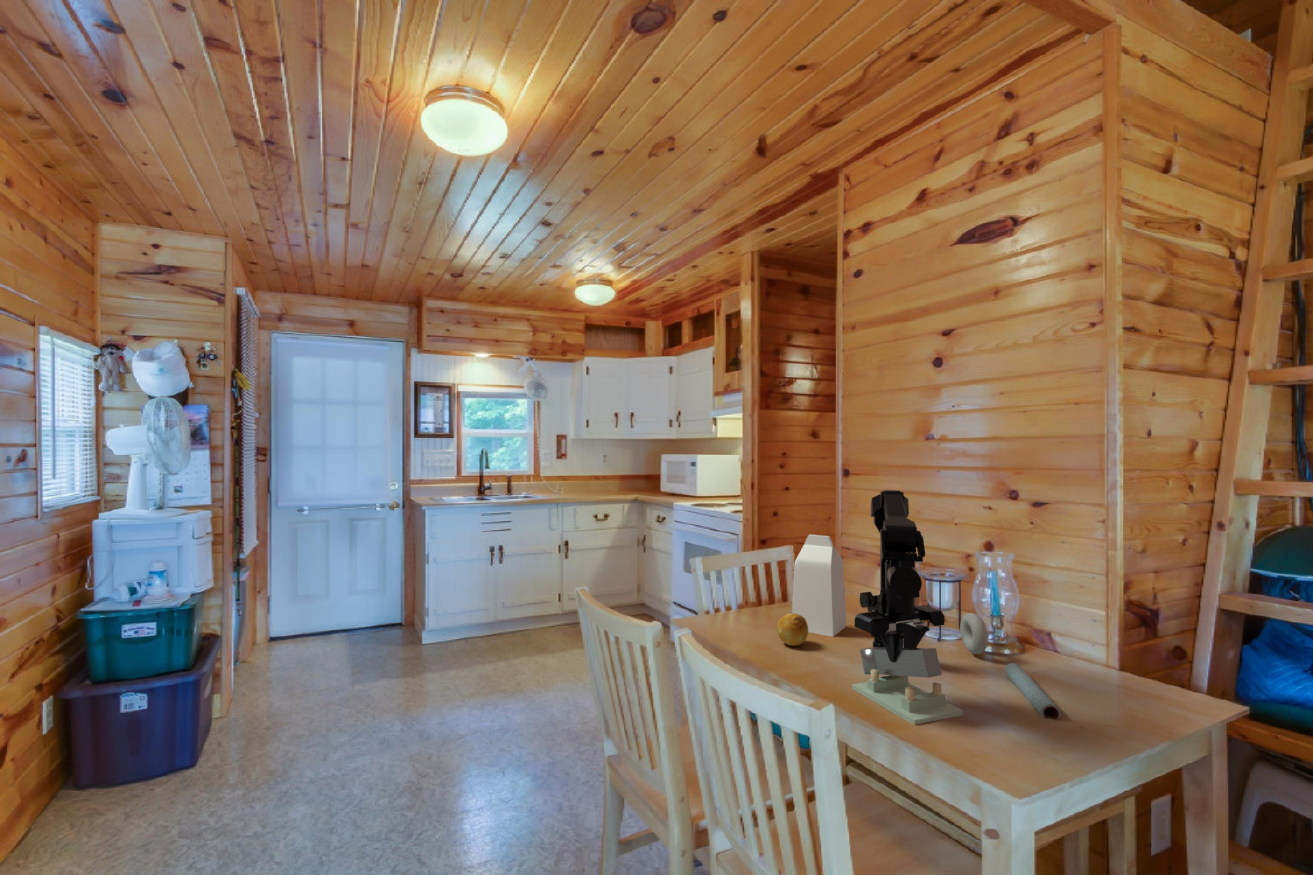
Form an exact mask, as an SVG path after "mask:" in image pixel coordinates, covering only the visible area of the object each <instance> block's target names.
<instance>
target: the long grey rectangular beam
mask: <svg viewBox="0 0 1313 875" xmlns="http://www.w3.org/2000/svg"><path fill="white" fill-rule="evenodd" d="M859 653H860V656H861V664H862V669H863V672H864V675H871V670H872V669H876V670H878V671H879V675H883V676H890V675H897V676H907V677H912V678H913V677H914V678H925V679H927V678H928V679H929V678H932V677H933V678H934V677H939V676H942V669H941V665H940V661H939V655H938V652H937V648H936V647H916V648H904V647H903V648H898V652H897V657H896V661H895V663H893V662H891V661H890V660H889V657H888V654H887V651H886V648H885V647H873V646H872V647H867V648H859Z"/></svg>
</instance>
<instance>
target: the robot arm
mask: <svg viewBox="0 0 1313 875" xmlns="http://www.w3.org/2000/svg"><path fill="white" fill-rule="evenodd" d="M909 506H910V505H909V498H908V497H906V496H905V494H904V491H902V490H897V489H895V490H892V489H890V490H889V489H887V490H886V489H885V490H881V491H880V494H877V495H875V496H873V497H871V500H870V517H871V518H873V524H874V526H875V528H876V529H877V531H878V533H879V544H880V545H879V552H880V553H879V554H880V555H879V556H880V558H879V559H880V561H879V562H880V563H879V569H880V570H879V572H880V573H879V575H880V576H879V577H880V578H879V581H880V582H879V583H880V584H879V586H880V587H879V594H875V595H873V593H872V591H865V592H859V604H860V607H861V608H862V609H867V612H860V613H857V614H856V615H855V617H854V627H855V628H856V629H860V630H861V631H864V632H866V633H868V634H870V636H871V637H873V641H872V647H885V648H886V651H887V654H888V657H889V660H890V661H891V662H893V663H895V661H896V657H897V652H898V648H918V645H919V644H920V642H921V641H922V639H923V638H924V636H925V635H926V633H927V632H929V631H930V630H931V629H930V627H928V626H925V625H926V624H925V621H929V623H930V624H931V626H933V627H939V626H940V627H941V626H945V615H944V613H943V611H942V610H941V609H937V608H934V607H933V606H930V605H926V604H922V605H916V599H917V598H920V591H921V589H922V585H923V581H922V578H921V576H920V574H919V572H918V571H917V569H916V563H918V562H919V563H923V562H924V558H925V557H926V547H925V541H924V536H923V535H922V532H921V531H920V530H918V527H917V525H916V522H915V521H914V520H911V519H909V518H908V517H909V514H910V507H909Z"/></svg>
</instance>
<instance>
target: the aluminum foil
mask: <svg viewBox="0 0 1313 875" xmlns="http://www.w3.org/2000/svg"><path fill="white" fill-rule="evenodd" d="M1004 671H1005V674H1006V675H1007V676H1008V678H1009V679H1010V680H1011V681H1012V682H1013V684H1014V685H1015V686H1016V687H1017V688H1018V689H1019V691H1020V693H1022V694H1023V696H1024V697H1025V698H1026V699H1027V700H1028V701H1029V703H1030V704H1031V705H1032V706H1033V707H1034V709H1035V710H1036V711H1037V712H1038V714H1039V715H1040V716H1041V717H1042V718H1045V719H1048V717H1047V715H1045V714H1046V713H1045V712H1047V713H1048V714H1050V716H1052V717H1053V718H1054V719H1055V720H1058V719H1060V718H1061V715H1062V713H1061V710H1060V708H1059V707H1058V706H1057V705H1056V703H1055V702H1054V701H1053V700H1052V699H1051V698H1050V697H1049V696H1048V695H1047V694H1046V693H1045V691H1044V690H1043V689H1041V687H1040V686H1039V685H1038V684H1037V683H1036V682H1035V681H1034V680H1033V678H1031V677H1030V675H1029V674H1028V673H1026V671H1025V670H1024V669H1023V668H1022V667H1021V666H1020V664H1018V663H1016V662H1015V663H1014V662H1010V663H1008V664H1007V665H1006V666H1005V668H1004Z"/></svg>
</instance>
